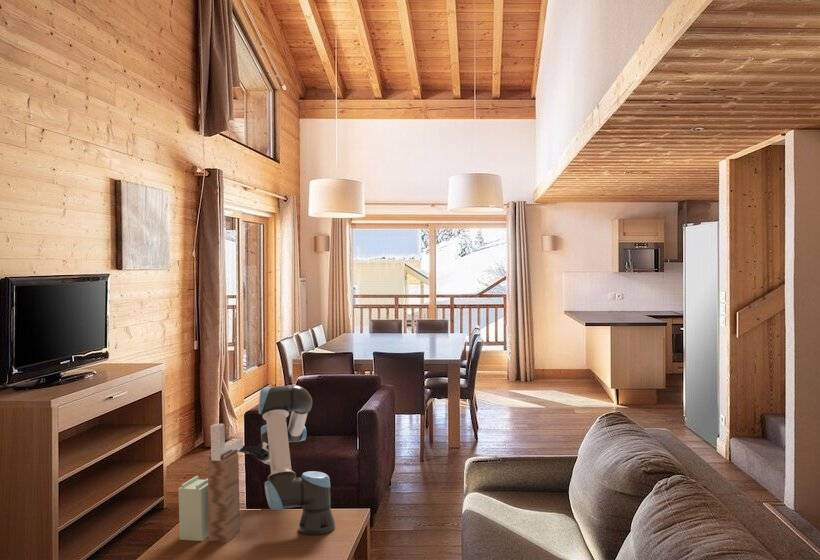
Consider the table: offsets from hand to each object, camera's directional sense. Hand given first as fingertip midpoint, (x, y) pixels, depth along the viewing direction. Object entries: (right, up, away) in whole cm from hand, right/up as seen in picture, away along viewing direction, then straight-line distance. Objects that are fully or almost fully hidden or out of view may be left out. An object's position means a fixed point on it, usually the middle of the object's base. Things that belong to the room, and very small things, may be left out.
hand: (248, 444), depth 290 cm
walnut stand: (-4, -32, -22) cm, 39 cm away
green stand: (-16, -32, -20) cm, 41 cm away
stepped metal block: (-4, +1, -19) cm, 19 cm away
